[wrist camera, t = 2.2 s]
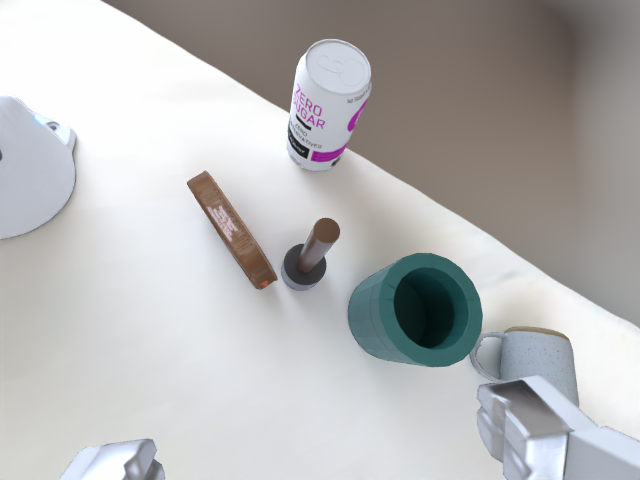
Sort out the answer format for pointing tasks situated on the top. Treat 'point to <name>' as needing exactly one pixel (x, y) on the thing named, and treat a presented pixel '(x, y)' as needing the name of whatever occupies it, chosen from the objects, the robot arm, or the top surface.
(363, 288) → the teal pen holder
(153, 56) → the top surface
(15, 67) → the top surface
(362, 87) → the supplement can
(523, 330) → the ceramic mug
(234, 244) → the tin
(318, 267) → the dish brush
